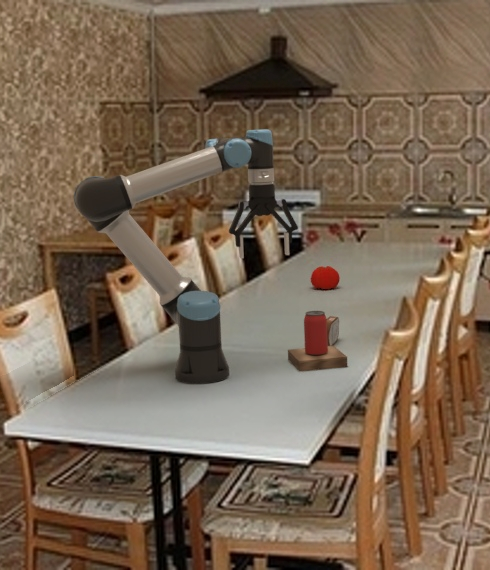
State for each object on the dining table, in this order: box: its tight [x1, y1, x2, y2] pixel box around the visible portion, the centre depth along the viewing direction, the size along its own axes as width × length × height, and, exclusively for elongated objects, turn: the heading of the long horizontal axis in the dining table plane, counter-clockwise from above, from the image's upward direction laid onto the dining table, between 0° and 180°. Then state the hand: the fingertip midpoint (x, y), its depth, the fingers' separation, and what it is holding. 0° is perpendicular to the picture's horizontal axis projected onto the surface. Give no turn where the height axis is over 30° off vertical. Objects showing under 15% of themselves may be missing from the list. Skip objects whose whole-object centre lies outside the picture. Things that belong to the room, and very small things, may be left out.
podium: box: [287, 345, 348, 372], centre depth 276 cm, size 14×14×3 cm
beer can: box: [303, 310, 328, 356], centre depth 275 cm, size 7×7×12 cm
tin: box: [326, 315, 340, 346], centre depth 298 cm, size 15×3×8 cm, turn 162°
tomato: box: [310, 266, 341, 290], centre depth 393 cm, size 11×12×9 cm
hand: (264, 256), depth 280 cm, fingers open, 13 cm apart
